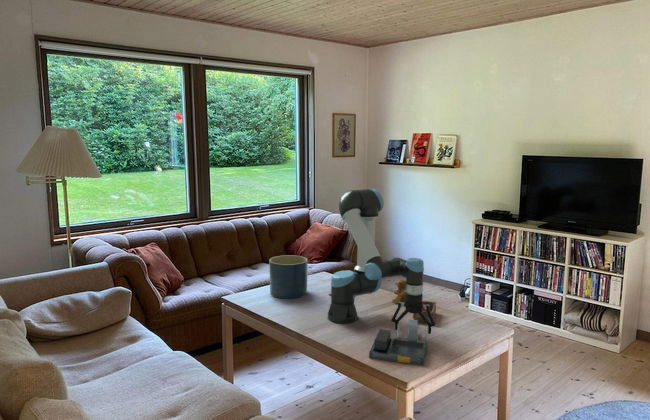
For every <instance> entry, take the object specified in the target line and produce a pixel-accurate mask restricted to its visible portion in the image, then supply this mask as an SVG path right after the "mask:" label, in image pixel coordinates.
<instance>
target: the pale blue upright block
mask: <svg viewBox="0 0 650 420" xmlns="http://www.w3.org/2000/svg"><path fill="white" fill-rule="evenodd" d="M418 324H419V323H417V320H414V319H408V328H407V329H408V330H407V331H408V332H407V340H412V341H418V332H419V329H418V327H419V325H418Z"/></svg>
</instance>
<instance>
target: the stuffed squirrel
mask: <svg viewBox="0 0 650 420" xmlns="http://www.w3.org/2000/svg"><path fill="white" fill-rule="evenodd" d="M394 286H395V287H397V289H395V290H394V291H393V294H394V295H397V296H396V297H395V298H393V299H391V302H392V303H393V304H395V305H398V303H399V302H400V301H401V302H402V303H405V299H406V279H399V280H398V281H397V282H396V283H395V284H394Z"/></svg>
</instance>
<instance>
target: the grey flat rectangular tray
mask: <svg viewBox="0 0 650 420" xmlns="http://www.w3.org/2000/svg"><path fill="white" fill-rule="evenodd" d="M391 333H392V331H391V330H389V329H381V328H380V329H379V330H378V332H377V335H375V338H374V342H373V344H372V345H371V348H370V350H369V353H368V355H369V356H368V357H369V359H373V360H375V359H376V360H383V361H389V362H397V363H403V364H404V363H405V364H413V365H421V366H423V365H424V361H425V357H426V353H427V347H428V341H420V340H417V341H412V340H408V339H402V338H397V337H396V338H394V337H392V334H391Z"/></svg>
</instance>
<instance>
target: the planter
mask: <svg viewBox="0 0 650 420" xmlns="http://www.w3.org/2000/svg"><path fill="white" fill-rule="evenodd" d="M268 263H269V264H268V265H269V266H268V268H269V270H268V272H269V289H270V290H269V291H270V292H269V293H270V295H271V296H272V297H273V298H277V299H280V300H281V299H282V300H294V299H299V298H302V297H305V296H306V295H307V293H308V291H307V290H308V269H309V267H308V265H309V264H308V263H309V261H308V258H307V257H304V256H302V255H292V254H291V255H289V254H288V255H287V254H286V255H285V254H284V255H279V256H278V255H277V256H273V257H270V259H269V261H268Z"/></svg>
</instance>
